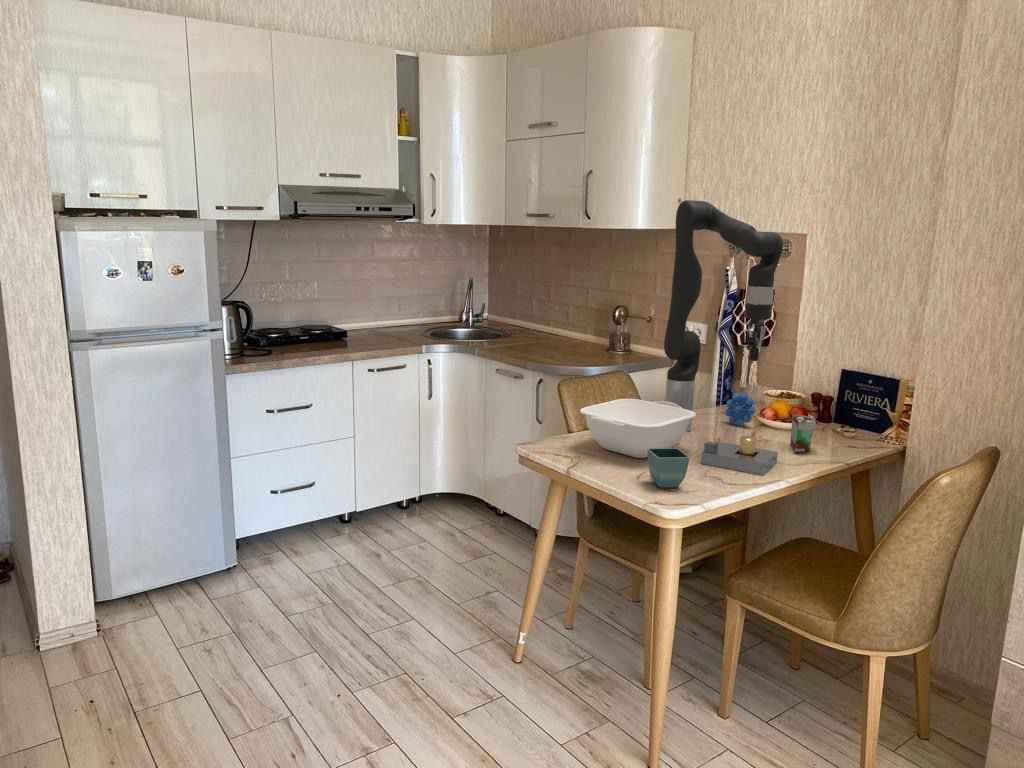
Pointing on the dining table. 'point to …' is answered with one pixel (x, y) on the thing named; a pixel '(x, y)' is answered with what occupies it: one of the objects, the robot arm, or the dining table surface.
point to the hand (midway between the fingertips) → (754, 360)
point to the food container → (801, 433)
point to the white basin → (636, 425)
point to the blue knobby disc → (740, 409)
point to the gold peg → (747, 446)
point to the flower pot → (667, 466)
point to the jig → (738, 458)
